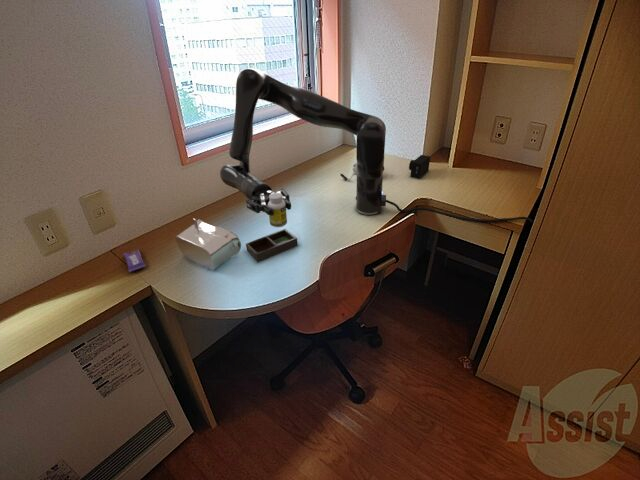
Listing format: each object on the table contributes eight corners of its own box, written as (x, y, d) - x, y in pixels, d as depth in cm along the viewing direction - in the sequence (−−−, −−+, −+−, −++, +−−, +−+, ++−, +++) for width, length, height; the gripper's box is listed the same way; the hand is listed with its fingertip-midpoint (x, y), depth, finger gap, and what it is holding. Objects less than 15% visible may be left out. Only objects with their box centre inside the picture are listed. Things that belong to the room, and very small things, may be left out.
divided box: (297, 245, 116) (297, 238, 114) (257, 262, 109) (256, 254, 107) (285, 235, 121) (285, 228, 119) (246, 251, 114) (245, 243, 113)
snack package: (145, 263, 108) (127, 269, 106) (147, 268, 109) (129, 274, 107) (138, 246, 116) (121, 251, 114) (140, 250, 117) (123, 256, 115)
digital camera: (417, 168, 164) (418, 154, 160) (428, 171, 161) (430, 156, 158) (407, 176, 157) (409, 161, 153) (419, 179, 155) (421, 163, 151)
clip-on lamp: (352, 191, 154) (386, 173, 158) (350, 179, 149) (385, 161, 154) (338, 179, 162) (370, 163, 166) (335, 167, 158) (369, 151, 162)
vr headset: (244, 256, 112) (236, 216, 104) (216, 275, 105) (205, 234, 97) (206, 239, 121) (196, 201, 113) (177, 256, 114) (165, 216, 106)
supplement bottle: (284, 228, 110) (281, 200, 104) (267, 227, 111) (263, 199, 105) (289, 219, 114) (286, 191, 108) (273, 218, 115) (269, 190, 109)
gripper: (233, 185, 113) (258, 206, 102) (273, 174, 120) (300, 191, 108) (237, 206, 117) (261, 228, 106) (275, 194, 124) (302, 213, 112)
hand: (281, 209), depth 107 cm, fingers closed on supplement bottle, 5 cm apart
